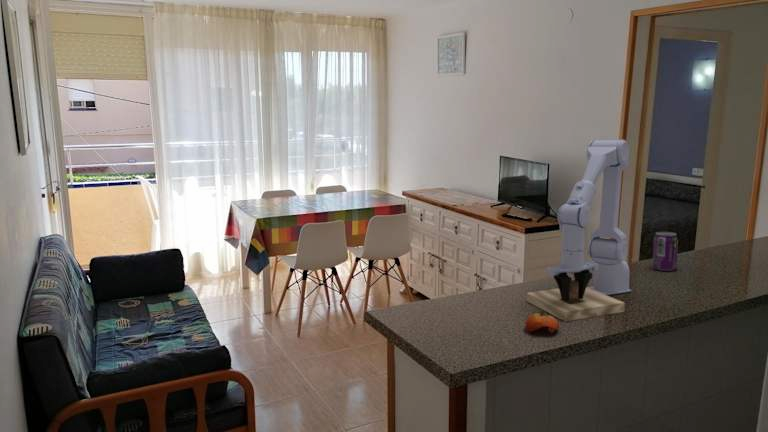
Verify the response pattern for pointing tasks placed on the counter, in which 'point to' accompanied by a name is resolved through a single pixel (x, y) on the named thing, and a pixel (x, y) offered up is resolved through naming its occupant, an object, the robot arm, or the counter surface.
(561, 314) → the board
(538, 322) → the tomato
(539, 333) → the counter surface
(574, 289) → the peg
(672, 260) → the beverage can
